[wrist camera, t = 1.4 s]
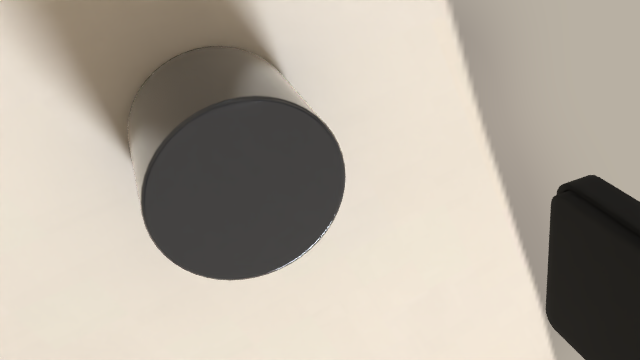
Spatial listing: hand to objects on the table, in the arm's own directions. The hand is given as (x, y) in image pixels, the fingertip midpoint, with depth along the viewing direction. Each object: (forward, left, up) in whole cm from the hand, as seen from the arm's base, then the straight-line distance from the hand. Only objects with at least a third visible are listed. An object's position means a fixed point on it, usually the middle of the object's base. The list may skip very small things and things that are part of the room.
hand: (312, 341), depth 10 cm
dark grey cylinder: (-1, 0, -8) cm, 7 cm away
